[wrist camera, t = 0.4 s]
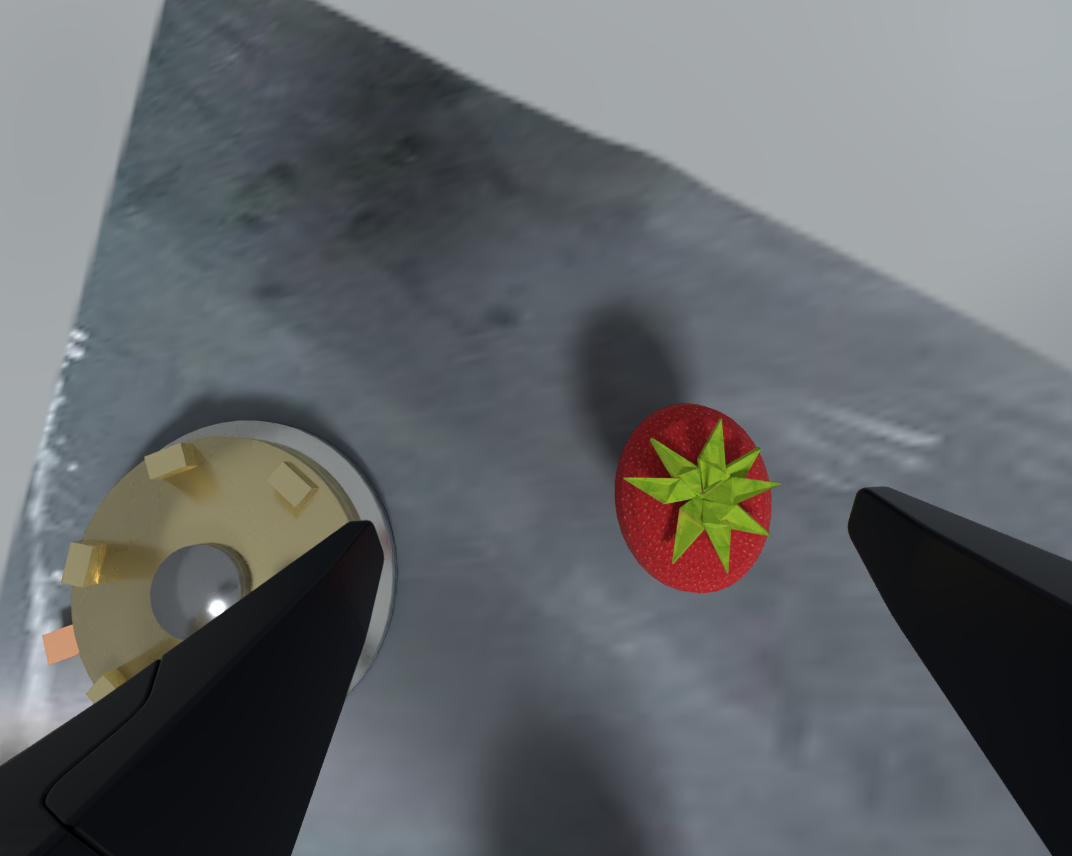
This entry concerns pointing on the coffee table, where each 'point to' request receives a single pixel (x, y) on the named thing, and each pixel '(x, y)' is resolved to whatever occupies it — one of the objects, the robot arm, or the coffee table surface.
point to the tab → (60, 644)
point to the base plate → (357, 498)
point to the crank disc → (189, 538)
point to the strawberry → (693, 498)
